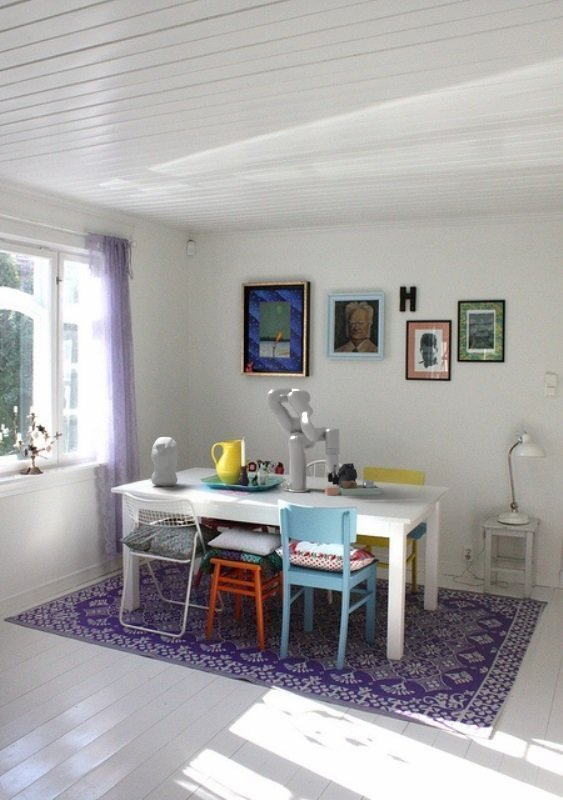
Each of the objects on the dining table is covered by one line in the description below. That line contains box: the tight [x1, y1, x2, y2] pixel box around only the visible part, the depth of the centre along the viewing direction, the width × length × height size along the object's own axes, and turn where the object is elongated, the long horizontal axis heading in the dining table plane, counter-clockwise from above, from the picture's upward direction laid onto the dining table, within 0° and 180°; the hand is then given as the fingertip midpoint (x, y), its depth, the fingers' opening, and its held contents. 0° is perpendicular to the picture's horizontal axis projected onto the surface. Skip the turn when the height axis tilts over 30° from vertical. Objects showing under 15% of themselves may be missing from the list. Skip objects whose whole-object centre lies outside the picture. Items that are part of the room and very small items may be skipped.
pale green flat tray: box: [335, 484, 382, 496], centre depth 406 cm, size 22×12×4 cm, turn 100°
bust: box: [150, 436, 179, 487], centre depth 420 cm, size 15×26×28 cm, turn 177°
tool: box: [338, 462, 358, 485], centre depth 424 cm, size 6×19×15 cm, turn 22°
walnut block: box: [341, 481, 358, 489], centre depth 405 cm, size 7×7×6 cm
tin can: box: [362, 480, 375, 488], centre depth 407 cm, size 6×6×6 cm
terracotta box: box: [324, 485, 339, 496], centre depth 400 cm, size 6×5×5 cm
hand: (333, 483), depth 399 cm, fingers open, 9 cm apart
